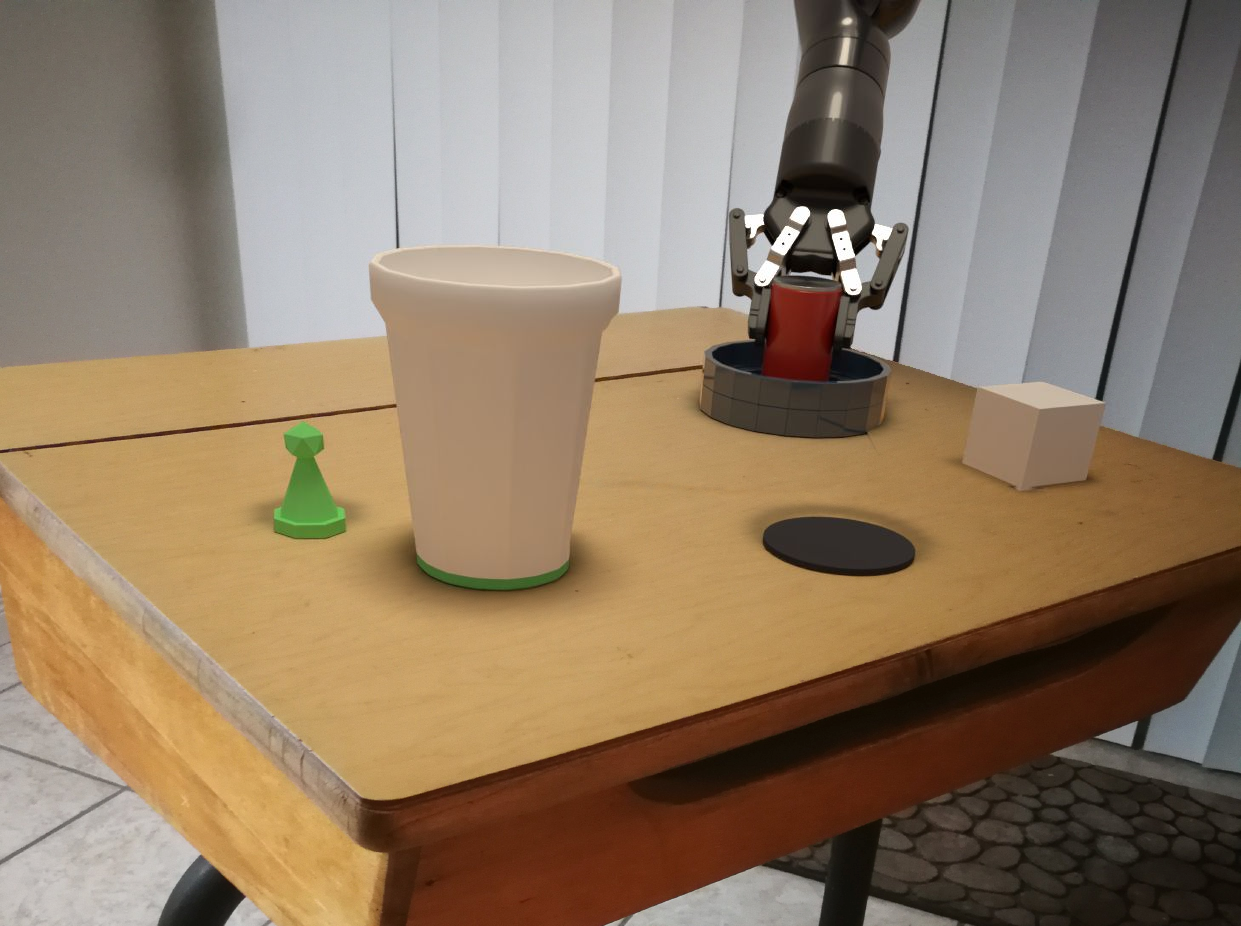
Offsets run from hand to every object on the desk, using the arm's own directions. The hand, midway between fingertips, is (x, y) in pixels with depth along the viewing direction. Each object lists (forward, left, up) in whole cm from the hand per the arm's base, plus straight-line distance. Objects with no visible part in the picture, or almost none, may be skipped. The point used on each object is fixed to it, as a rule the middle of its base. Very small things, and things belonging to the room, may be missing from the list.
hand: (798, 344), depth 97 cm
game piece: (+31, +29, -6) cm, 43 cm away
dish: (0, -2, -6) cm, 6 cm away
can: (0, -2, -5) cm, 6 cm away
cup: (+20, +33, -6) cm, 39 cm away
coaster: (0, +27, -6) cm, 28 cm away
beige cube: (-15, +11, -6) cm, 20 cm away
